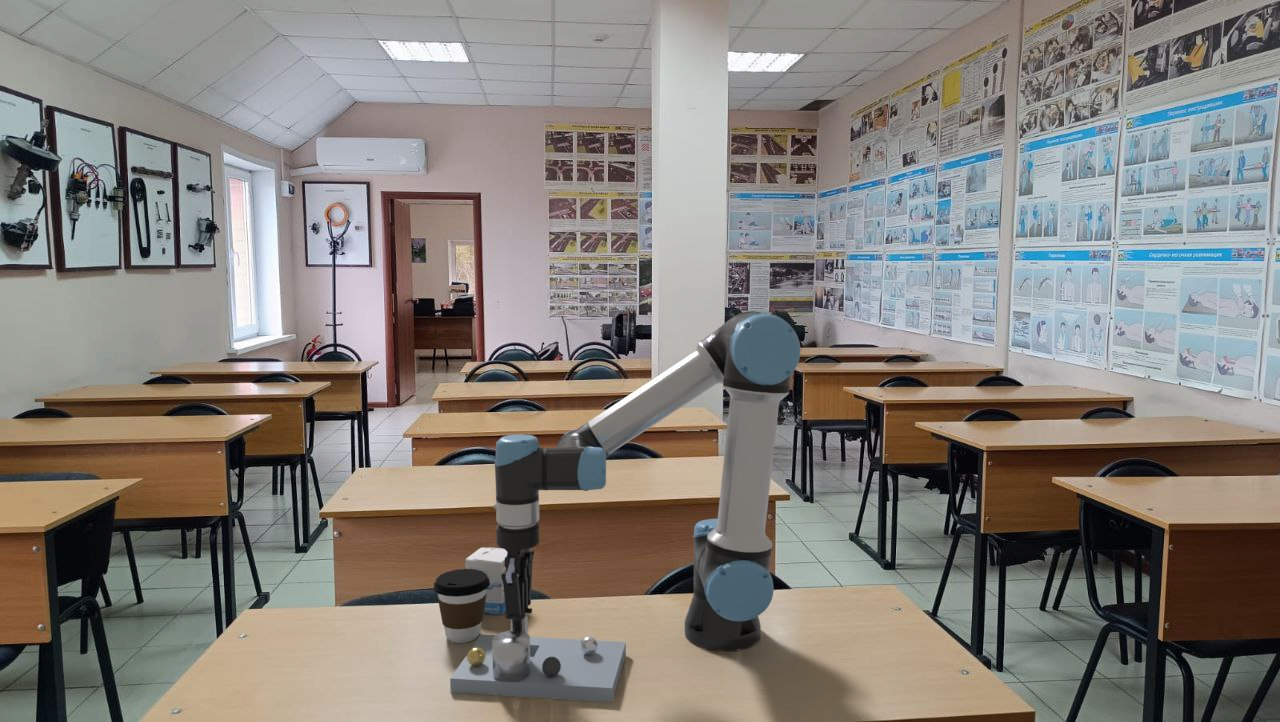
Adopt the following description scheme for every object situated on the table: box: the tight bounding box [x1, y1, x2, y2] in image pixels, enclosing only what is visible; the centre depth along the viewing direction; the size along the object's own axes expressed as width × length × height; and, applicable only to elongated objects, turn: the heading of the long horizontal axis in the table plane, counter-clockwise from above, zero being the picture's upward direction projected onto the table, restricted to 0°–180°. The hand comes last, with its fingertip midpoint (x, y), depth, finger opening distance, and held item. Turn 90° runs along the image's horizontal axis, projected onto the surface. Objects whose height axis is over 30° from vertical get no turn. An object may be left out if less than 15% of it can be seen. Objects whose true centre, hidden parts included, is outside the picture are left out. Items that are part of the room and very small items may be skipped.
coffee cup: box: [433, 568, 490, 644], centre depth 155 cm, size 11×11×12 cm
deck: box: [449, 633, 627, 703], centre depth 141 cm, size 28×17×2 cm, turn 83°
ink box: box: [464, 547, 507, 615], centre depth 170 cm, size 9×8×12 cm
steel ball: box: [580, 635, 598, 655], centre depth 143 cm, size 3×3×3 cm
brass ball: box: [466, 647, 486, 666], centre depth 138 cm, size 3×3×3 cm
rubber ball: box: [542, 657, 561, 677], centre depth 135 cm, size 3×3×3 cm
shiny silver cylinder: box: [492, 630, 531, 681], centre depth 135 cm, size 6×6×6 cm
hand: (519, 650), depth 141 cm, fingers closed
